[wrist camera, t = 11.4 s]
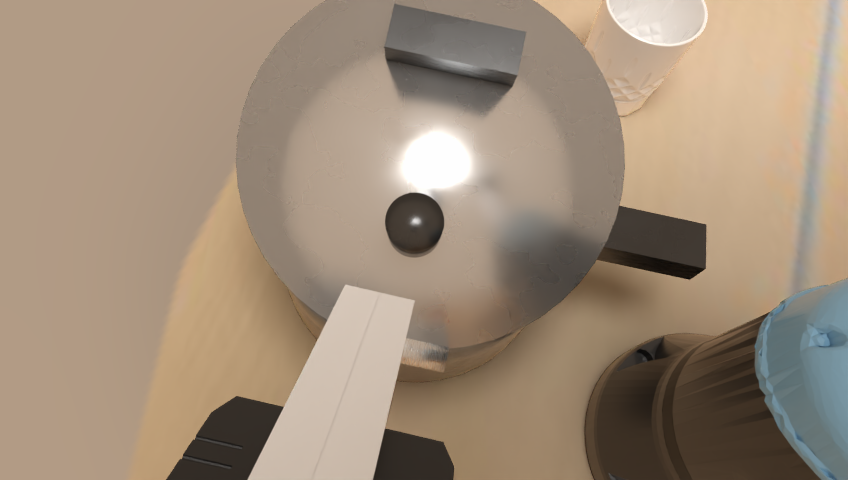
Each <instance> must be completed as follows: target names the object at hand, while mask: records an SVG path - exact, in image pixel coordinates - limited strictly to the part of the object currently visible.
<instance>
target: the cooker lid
mask: <svg viewBox="0 0 848 480" xmlns="http://www.w3.org/2000/svg"><path fill="white" fill-rule="evenodd" d="M236 168H237V181H238V189H239V193H240V198H241V202H242V207H243V211H244V214H245V217H246V219H247V222H248V225H249V228H250V230H251V233H252V235H253V237H254V239H255V241H256V243H257V245H258V247H259V249H260V251H261V252H262V254H263V256H264V258H265V259H266V261H267V262H268V263H269V265H270V266H271V268H272V269H273V270H274V272H275V273H276V275H277V276H278V277H279V279H280V280H281V281H282V282H283V283H284V284H285V285H286V286H287V287H288V288H289V289H290V290H291V291H292V292H293V293H294V295H295V296H296V297H297V298H299V299H300V300H301V301H302V302H304V303H305V304H306V305H307V306H309V307H310V308H311V309H312V310H313V311H315V312H316V313H317V314H319V315H320V316H322V317H324V318H325V319H327V320H328V318H329V316H330V314H331V312H332V310H333V308H334V306H335V304H336V302H337V300H338V298H339V296H340V294H341V292H342V290H343V288H344V286H345V285H350V286H354V287H358V288H363V289H367V290H372V291H376V292H380V293H385V294H389V295H393V296H398V297H402V298H406V299H411V300H415V302H414V306H413V310H412V315H411V319H410V323H409V328H408V332H407V337H406V341H405V345H404V350H403V354H402V358H401V363H402V364H407V365H411V366H416V367H421V368H425V369H430V370H434V371H439V372H444V370H445V366H446V362H447V357H448V352H449V349H450V348H458V347H467V346H472V345H475V344H479V343H483V342H487V341H491V340H495V339H497V338H499V337H502V336H504V335H507V334H509V333H512V332H514V331H517V330H519V329H521V328H522V327H524V326H526V325H528V324H529V323H531V322H533V321H535V320H536V319H538V318H540V317H541V316H543V315H544V314H545V313H547V312H548V311H549V310H551V309H552V308H553V307H554V306H556V305H557V304H558V303H560V302H561V301H562V300H563V299H564V298H565V297H566V296H567V295H568V294H569V293H570V292H571V291H572V290H573V289H574V288H575V287H576V286H577V285H578V284H579V283H580V282H581V280H582V279H583V278H584V276H585V275H586V274H587V272H588V271H589V270H590V268H591V267H592V266H593V264H594V263H595V261H596V259H597V258H598V256H599V254H600V252H601V251H602V249H603V247H604V245H605V243H606V242H607V239H608V237H609V234H610V232H611V229H612V227H613V224H614V222H615V219H616V216H617V212H618V208H619V204H620V200H621V196H622V189H623V180H624V170H625V163H624V141H623V135H622V129H621V123H620V118H619V115H618V112H617V108H616V105H615V102H614V98H613V95H612V93H611V91H610V89H609V87H608V84H607V82H606V80H605V78H604V76H603V74H602V72H601V70H600V69H599V67H598V65H597V64H596V62H595V61H594V59H593V57H592V56H591V54H590V53H589V51H588V50H587V49H586V48H585V47H584V45H583V44H582V43H581V42H580V40H579V39H578V38H577V37H576V35H575V34H574V33H573V32H572V31H571V30H570V29H568V28H567V27H566V26H565V25H564V24H563V23H562V22H561V21H560V20H559V19H558V18H557V17H556V16H554V15H553V14H552V13H550V12H549V11H548V10H546V9H545V8H544V7H542V6H541V5H539V4H538V3H537V2H535V1H533V0H325V1H324V2H323V3H321V4H319V5H318V6H317V7H315V8H314V9H312V10H311V11H309V12H308V13H307V14H306V15H305V16H304V17H302V18H301V19H300V20H299V21H298V22H297V23H295V24H294V25H293V26H292V27H291V28H290V29H289V30H288V31H287V32H286V34H285V35H284V36H283V37H282V38H281V39H280V40H279V42H278V43H277V44H276V45H275V46H274V48H273V49H272V51H271V52H270V54H269V55H268V57H267V58H266V59H265V61H264V62H263V64H262V65H261V67H260V69H259V71H258V73H257V75H256V77H255V79H254V81H253V83H252V85H251V87H250V90H249V93H248V96H247V99H246V102H245V105H244V108H243V111H242V115H241V120H240V125H239V130H238V135H237V151H236Z"/></svg>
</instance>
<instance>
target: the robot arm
mask: <svg viewBox="0 0 848 480" xmlns="http://www.w3.org/2000/svg"><path fill="white" fill-rule="evenodd" d="M414 302H415V300H411V299H406V298H402V297H398V296H393V295H389V294H385V293H380V292H376V291H372V290H367V289H363V288H358V287H354V286H350V285H345V286H344V288H343V290H342V292H341V294H340V296H339V298H338V300H337V302H336V304H335V306H334V308H333V310H332V312H331V314H330V316H329V318H328V320H327V322H326V324H325V326H324V328H323V330H322V332H321V334H320V336H319V338H318V340H317V342H316V344H315V346H314V348H313V350H312V352H311V354H310V356H309V358H308V360H307V362H306V364H305V366H304V368H303V370H302V372H301V374H300V376H299V378H298V380H297V382H296V384H295V386H294V388H293V390H292V392H291V394H290V396H289V398H288V400H287V402H286V404H285V406H284V407H281V406H277V405H273V404H268V403H264V402H260V401H255V400H251V399H247V398H242V397H238V396H236V397H234V398H233V399H231V400H230V401H228V402H227V403H225V404H224V405H222V406H221V407H219V408H218V409H216V410H215V411H213V412H212V413H211V414H210V416H209V417H208V418H207V420H206V421H205V423H204V424H203V426H202V427H201V429H200V430H199V432H198V433H197V435H196V438H195V440H193V441H192V442H191V444H190V445H189V447H188V448H187V450H186V451H185V453H184V454H183V458H182V459H180V460H179V462H178V463H177V464H176V466H175V467H174V469H173V470H172V472H171V473H170V475H169V476H168V478H167V479H166V480H453V476H454V466H453V463H452V461H451V459H450V456H449V454H448V452H447V450H446V447H445V445H444V443H443V442H441V441H436V440H432V439H428V438H423V437H419V436H415V435H410V434H406V433H402V432H398V431H393V430H389V429H385V428H386V424H387V419H388V415H389V411H390V407H391V402H392V398H393V393H394V389H395V385H396V380H397V376H398V372H399V367H400V363H401V358H402V354H403V350H404V345H405V341H406V337H407V332H408V328H409V323H410V319H411V315H412V310H413V306H414ZM585 439H586V449H587V455H588V460H589V464H590V467H591V471H592V474H593V476H594V479H595V480H848V278H846V279H844V280H841V281H838V282H836V283H833V284H830V285H824V286H819V287H814V288H810V289H807V290H804V291H801V292H799V293H797V294H794V295H792V296H791V297H789V298H787V299H785V300H784V301H782V302H781V303H780V304H779V306H778V307H776V308H775V309H774V310H772V311H771V312H769V313H767V314H765V315H763V316H761V317H758V318H756V319H754V320H752V321H750V322H747V323H745V324H743V325H741V326H738V327H736V328H734V329H732V330H730V331H727V332H725V333H723V334H721V335H718V336H708V335H700V334H687V333H683V334H671V335H665V336H661V337H657V338H654V339H651V340H648V341H646V342H644V343H642V344H640V345H638V346H636V347H634V348H633V349H631V350H629V351H627V352H626V353H624V354H623V355H621V356H620V357H619V358H617V359H616V360H615V361H614V362H613V363H612V364H611V365H610V366H609V367H608V368H607V369H606V371H605V372H604V373H603V375H602V376H601V378H600V379H599V381H598V383H597V384H596V386H595V389H594V391H593V393H592V396H591V399H590V402H589V406H588V410H587V416H586V426H585Z"/></svg>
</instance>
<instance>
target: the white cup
mask: <svg viewBox="0 0 848 480" xmlns="http://www.w3.org/2000/svg"><path fill="white" fill-rule="evenodd" d="M707 18H708V12H707V7H706V4H705V1H704V0H602V3H601V5H600V8H599V10H598V13H597V15H596V18H595V20H594V23H593V25H592V28H591V30H590V33H589V36H588V39H587V41H586V44H585V46H584V47H585V48H586V49H587V50H588V51H589V53H590V54H591V56H592V57H593V59H594V61H595V62H596V64H597V65H598V67H599V69H600V70H601V72H602V74H603V76H604V78H605V80H606V82H607V84H608V87H609V89H610V91H611V93H612V95H613V98H614V102H615V105H616V108H617V112H618V115H619V116H626V115H628V114H630V113H632V112H634V111H636V110H638V109H640V108H641V106H642V105H643V104H644V102H645V101H646V100H647V99H648V97H649V96H650V95H651V93H652V92H653V91H654V90H655V89H656V88H658V87H659V85H660V84H661V83H662V82H663V81H664V79H665V78H666V77H667V76H668V75H669V74H670V72H671V71H672V70H673V69H674V67H675V66H676V65H677V63H678V62H679V61H680V60H681V58H682V57H683V56H684V54H685V53H686V52H687V51H688V49H689V48H690V47H691V46H692V44H693V43H694V42H695V40H696V39H697V38H698V37H699V35H700V34H701V33H702V32H703V30H704V28H705V26H706V23H707Z"/></svg>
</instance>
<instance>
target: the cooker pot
mask: <svg viewBox="0 0 848 480" xmlns="http://www.w3.org/2000/svg"><path fill="white" fill-rule="evenodd" d="M596 260H601V261H606V262H610V263H615V264H620V265H624V266H629V267H633V268H638V269H643V270H647V271H652V272H657V273H661V274H666V275H671V276H675V277H680V278H684V279H689V280H690V279H691V278H693V277H694V276H696V275H697V274H699V273H700V272H702V271H703V270H704V269H706V224H701V223H697V222H692V221H687V220H683V219H678V218H673V217H669V216H664V215H659V214H655V213H650V212H646V211H641V210H636V209H632V208H627V207H622V206H619V208H618V212H617V216H616V219H615V222H614V224H613V227H612V229H611V232H610V234H609V237H608V239H607V242H606V243H605V245H604V247H603V249H602V251H601V252H600V254H599V256H598V258H597V259H596ZM287 288H288V287H287ZM288 291H289V293H290V296H291V298H292V301H293V303H294V305H295V307H296V309H297V311H298V313H299V315H300V317H301V319H302V321H303V322H304V323H305V325H306V326H307V328H308V329H309V330H310V332H311V333H312V334H313V335H314V337H315V338H316V339H317V340H318V338H319V336H320V334H321V332H322V330H323V328H324V326H325V324H326V322H327V319H325V318H324V317H322V316H320V315H319V314H317V313H316V312H315V311H313V310H312V309H311V308H310V307H309V306H307V305H306V304H305V303H304V302H302V301H301V300H300V299H299V298H297V297H296V296H295V295H294V293H293V292H292V291H291V290H290V289H289V288H288ZM524 327H525V326H524ZM524 327H522V328H521V329H519V330H517V331H514V332H512V333H509V334H507V335H504V336H502V337H499V338H497V339H495V340H491V341H487V342H483V343H479V344H475V345H472V346H467V347H458V348H450V349H449V352H448V357H447V362H446V366H445V370H444V372H439V371H434V370H430V369H425V368H421V367H416V366H411V365H407V364H402V363H400V367H399V372H398V376H397V380H396V381H403V382H428V381H437V380H443V379H447V378H451V377H455V376H459V375H461V374H463V373H466V372H468V371H471V370H473V369H475V368H477V367H479V366H481V365H482V364H484V363H486V362H488V361H489V360H491V359H492V358H493V357H495V356H496V355H497V354H498V353H500V352H501V351H502V350H504V348H505V347H506V346H507V345H508V344H509V343H510V342H511V341H512V340H513V339H514V338H515V337H516V336H517V335H518V334H519V333H520V331H521V330H522V329H523V328H524Z"/></svg>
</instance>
